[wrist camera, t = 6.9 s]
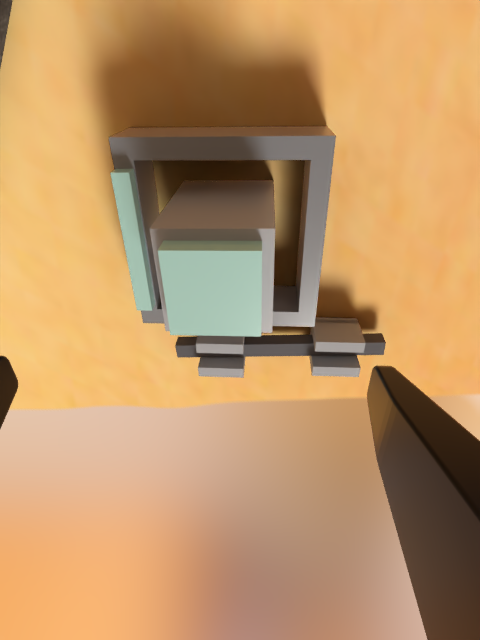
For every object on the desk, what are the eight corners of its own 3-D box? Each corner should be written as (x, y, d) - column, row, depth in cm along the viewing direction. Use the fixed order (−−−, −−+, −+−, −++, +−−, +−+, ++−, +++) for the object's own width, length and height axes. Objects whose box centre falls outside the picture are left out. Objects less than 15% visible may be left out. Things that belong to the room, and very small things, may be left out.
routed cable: (382, 318, 21) (393, 343, 19) (373, 355, 22) (383, 382, 20) (178, 314, 21) (169, 338, 19) (182, 350, 23) (174, 375, 21)
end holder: (327, 125, 16) (338, 138, 13) (310, 299, 20) (315, 334, 18) (129, 127, 16) (102, 140, 14) (155, 296, 21) (139, 330, 18)
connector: (273, 179, 17) (275, 238, 11) (271, 262, 19) (272, 346, 14) (183, 180, 17) (142, 238, 12) (191, 262, 20) (160, 343, 14)
